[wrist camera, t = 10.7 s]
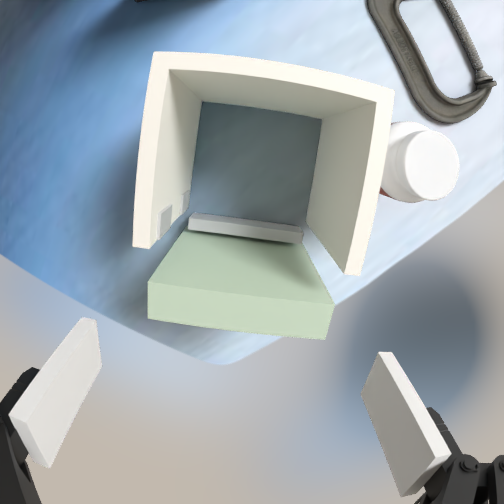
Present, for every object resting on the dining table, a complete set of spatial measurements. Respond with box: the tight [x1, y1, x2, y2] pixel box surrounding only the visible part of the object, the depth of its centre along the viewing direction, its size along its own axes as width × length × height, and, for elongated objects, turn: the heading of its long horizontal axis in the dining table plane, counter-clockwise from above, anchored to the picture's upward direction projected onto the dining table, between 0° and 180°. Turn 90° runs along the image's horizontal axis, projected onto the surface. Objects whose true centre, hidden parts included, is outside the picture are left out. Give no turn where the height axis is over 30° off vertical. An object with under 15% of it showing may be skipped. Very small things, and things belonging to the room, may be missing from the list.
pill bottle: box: [379, 121, 459, 203], centre depth 23 cm, size 6×6×11 cm
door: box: [148, 226, 335, 339], centre depth 25 cm, size 11×3×13 cm, turn 82°
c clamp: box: [367, 0, 497, 123], centre depth 23 cm, size 20×17×3 cm
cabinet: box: [133, 52, 395, 276], centre depth 23 cm, size 13×17×13 cm
